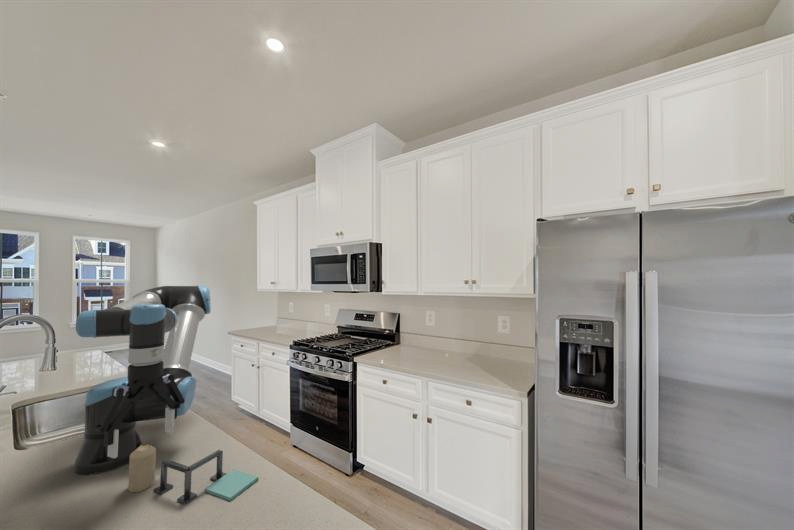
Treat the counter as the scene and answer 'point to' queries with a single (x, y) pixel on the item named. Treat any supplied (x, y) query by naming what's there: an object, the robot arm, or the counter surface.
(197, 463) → the handrail
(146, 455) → the candle
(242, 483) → the pad
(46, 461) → the counter surface
